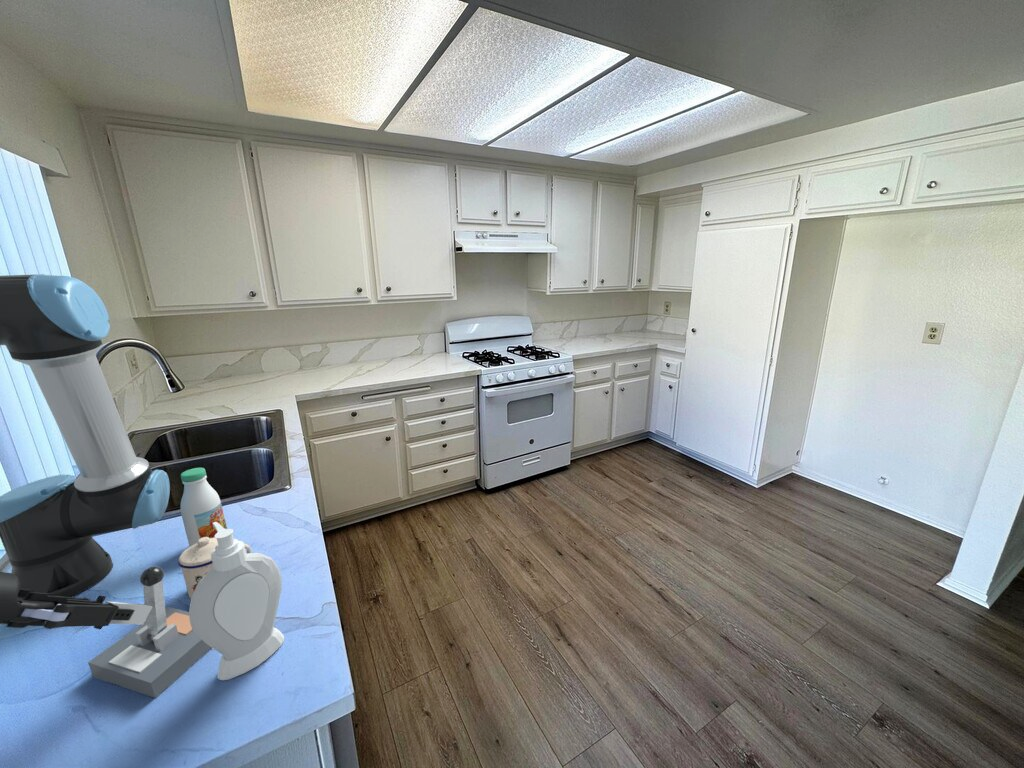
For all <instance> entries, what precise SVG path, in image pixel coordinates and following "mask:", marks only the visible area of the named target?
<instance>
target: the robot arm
mask: <svg viewBox="0 0 1024 768" xmlns="http://www.w3.org/2000/svg"><path fill="white" fill-rule="evenodd" d="M109 321H110V316H109V313H108V311H107V308H106V306H105V304H104V302H103V300H102V298H101V297H100V296H99V295H98V293H97V292H96V291H95V290H94V289H93V288H92V287H91V286H89V285H87V284H86V283H85V282H84V281H82V280H80V279H78V278H76V277H73V276H68V275H52V274H42V273H41V274H40V273H39V274H13V275H11V274H10V275H8V274H7V275H0V346H5V347H6V349H7V352H8V353H9V356H10V357H11V359H12V360H14V361H17V362H19V363H22V364H24V365H26V366H29V368H30V370H31V372H32V374H33V376H34V378H35V380H36V383H37V385H38V387H39V389H40V391H41V393H42V395H43V398H44V400H45V402H46V403H47V406H48V408H49V410H50V412H51V415H52V416H53V418H54V421H55V423H56V426H57V427H58V429H59V431H60V433H61V435H62V438H63V440H64V442H65V444H66V446H67V449H68V451H69V452H70V454H71V457H72V459H73V460H74V463H75V465H76V467H77V469H78V471H79V475H78V477H77V478H76V479H75V477H73V475H71V474H66V473H65V474H57V475H51V476H48V477H44V478H40V479H37V480H34V481H31V482H29V483H26V484H23V485H21V486H18V487H16V488H14V489H10V490H9V491H7V492H5V493H4V494H2V495H0V541H1V543H2V547H3V549H4V551H5V553H6V556H7V558H8V560H9V562H10V566H11V572H7V571H6V572H3V571H0V625H5V627H6V628H13V629H15V628H17V629H23V628H26V627H30V626H31V627H44V628H45V629H48V630H49V629H50V630H51V629H56V628H57V629H58V628H64V627H65V628H66V627H67V628H68V627H69V628H70V627H93V628H94V629H97V630H102V628H103V627H108V626H109V625H110V624H111V625H114V624H115V625H138V626H139V625H143V624H144V622H145V621H146V618H147V616H148V615H149V613H150V611H151V609H152V607H153V606H151V605H147V604H145V603H144V604H143V603H134V602H133V603H132V602H118V601H107V600H106V598H107V596H106V595H105V596H104V595H100V594H99V595H98V596H97V598H96V600H92V599H90V598H88V597H83V598H82V597H75V596H78V595H79V594H81V593H83V592H86V590H89V589H91V588H93V587H94V586H95V585H97V584H99V583H100V582H101V581H102V580H103V579H104V578H106V577H107V576H108V575H109V574H110V573H111V572H112V570H113V567H114V562H113V559H112V557H111V555H110V553H109V552H107V551H106V550H105V549H104V548H103V547H102V545H100V544H99V543H98V541H96V540H95V539H94V538H93V536H96V535H101V534H106V533H107V534H108V533H113V532H119V531H123V530H128V529H133V530H134V529H137V528H140V527H143V526H149V525H153V524H155V523H156V522H158V521H160V519H161V518H162V517H163V516H164V514H165V512H166V510H167V508H168V505H169V499H170V494H171V493H170V491H171V487H170V486H171V485H170V479H169V475H168V473H167V472H166V471H164V470H162V469H157V468H156V469H154V470H152V468H151V466H150V464H149V461H148V460H147V459H145V458H144V457H140V456H137V455H136V453H135V450H134V447H133V445H132V443H131V440H130V438H129V436H128V433H127V431H126V427H125V426H124V423H123V420H122V418H121V416H120V413H119V411H118V408H117V405H116V403H115V400H114V398H113V395H112V393H111V391H110V388H109V386H108V382H107V379H106V378H105V375H104V372H103V370H102V368H101V365H100V363H99V360H98V358H97V353H98V352H99V350H100V349H101V348H102V347H103V342H102V341H103V340H102V339H105V338H106V337H107V336H108V335H109V332H110V327H111V326H110V325H111V324H110V323H109Z"/></svg>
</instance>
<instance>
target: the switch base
mask: <svg viewBox="0 0 1024 768" xmlns="http://www.w3.org/2000/svg"><path fill="white" fill-rule="evenodd" d="M165 612H166V623H167V628H166V629H164V630H163V631H162V632H160V633H159V634H158V635H156V636H155V637H154V638H153V641H154V642H153V641H149V640H147V635H148V630H147V620H145V622H144V624H143V625H138V626H137V627H135V628H134V629H132V630H131V631H129V632H128V633H127V634H126V635H124V636H123V637H122V638H120V639H118V640H117V641H116V642H114V643H113V644H111V645H110V646H109V647H107V648H106V649H104V650H103V651H102V652H100V653H99V654H98V655H96V656H95V657H93V658H92V659H90V660H89V661H87V665H88V667H89V669H90V672H91V674H92V677H93V678H95V679H97V680H101V681H104V682H107V683H109V682H110V683H109V684H112V683H113V685H115V684H116V685H115V686H118V685H119V687H122V688H125V689H127V688H128V689H127V690H131V691H134V692H137V693H140V694H143V695H144V696H148V697H152V698H154V699H157V697H159V696H160V695H161V694H162V693H163V692H165V691H166V690H167V689H168V688H169V687H170V686H171V685H172V684H174V682H175V681H176V680H178V679H179V678H180V677H181V676H182V675H183V674H185V672H187V671H188V670H189V669H190V668H192V666H193V665H194V664H196V663H197V662H198V661H199V660H200V659H201V658H202V657H203V656H204V655H206V654H207V653H208V652H209V651H210V650H211V649H213V648H212V647H210V646H209V645H207V644H206V643H205V642H204V641H203V640H202V639H201V638H199V637H198V636H197V635H196V633H195V632H194V631H193V629H192V627H191V624H190V618H189V611H187V610H183V609H178V608H175V607H170V606H166V605H165Z"/></svg>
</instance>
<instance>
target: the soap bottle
mask: <svg viewBox="0 0 1024 768" xmlns="http://www.w3.org/2000/svg"><path fill="white" fill-rule="evenodd" d="M213 526H214V527H215V529H216V530H217V533H216V534H215V538H216V539H217V542H218V544H217V545H216V547H215V549H214V550H213V551H212V553H211V558H212V562H213V567H212V569H211V570H210V571H209V572H208V573H207V574H206V575H205V576H204V577H203V578H202V579H201V580H200V581H199V583H198V585H197V587H196V589H195V591H194V592H193V594H192V597H191V599H190V605H189V609H188V612H189V618H190V624H191V627H192V629H193V631H194V632H195V633H196V635H197V636H198V637H199V638H201V639H202V640H203V641H204V642H205V643H206V644H207V645H209V646H210V647H212V648H211V649H214V650H215V651H217V652H218V653H219V654H221V657H220V659H219V664H218V669H217V676H216V677H217V679H218V680H220V681H228V680H231V679H233V678H236V677H238V676H242V675H243V674H245V673H246V674H247V672H249V671H251V670H253V669H254V668H256V667H258V666H260V665H261V664H262V663H264V662H265V661H266V660H267V659H269V658H270V657H271V656H273V654H274V653H275V652H276V651H277V650H279V648H280V647H282V645H283V643H284V642H285V636H284V634H283V633H282V632H281V631H280V629H278V628H276V627H274V625H275V621H276V617H277V613H278V609H279V604H280V599H281V594H282V593H281V592H282V586H283V584H282V583H283V579H282V574H281V571H280V568H279V566H278V565H277V564H276V562H275V560H273V558H272V557H271V556H268V555H266V554H263V553H261V552H253V553H252V552H251V553H247V550H246V549H245V546H244V544H245V542H244V541H242V540H238V539H237V538H234V535H233V533H234V529H233V528H227V529H224V528H223V527H222V526H221V525H220V524H219V523H217V522H214V523H213Z"/></svg>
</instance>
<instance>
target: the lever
mask: <svg viewBox="0 0 1024 768" xmlns="http://www.w3.org/2000/svg"><path fill="white" fill-rule="evenodd" d="M164 576H165V571H164V569H163V568H161V567H160V566H151V567H148V568H147V569H145V570H144V571H142V573H141V575H140V577H139V578H140V579H139V581H140V583H141V585H142V587H143V598H144V604H147V605H151V606H153V607H152V609H151V611H150V613H149V615H148V616H147V618H146V620H147V630H148V635H147V640H149V641H153V638H154V637H155V636H156V635H158V634H159V633H160V632H162V631H163V630H164V629H166V628H167V623H166V612H165V607H166V604H165V603H166V602H165V591H164V582H163V581H164V580H163V579H164ZM146 620H145V621H146ZM153 642H154V641H153Z"/></svg>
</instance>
